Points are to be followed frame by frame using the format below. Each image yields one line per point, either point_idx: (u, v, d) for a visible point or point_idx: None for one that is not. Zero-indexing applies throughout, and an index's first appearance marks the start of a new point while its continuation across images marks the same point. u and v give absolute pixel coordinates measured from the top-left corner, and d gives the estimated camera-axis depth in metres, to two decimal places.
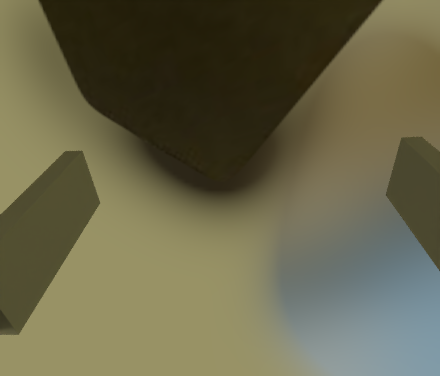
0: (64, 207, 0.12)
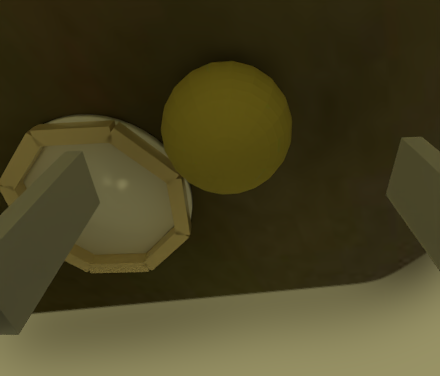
0: (64, 207, 0.12)
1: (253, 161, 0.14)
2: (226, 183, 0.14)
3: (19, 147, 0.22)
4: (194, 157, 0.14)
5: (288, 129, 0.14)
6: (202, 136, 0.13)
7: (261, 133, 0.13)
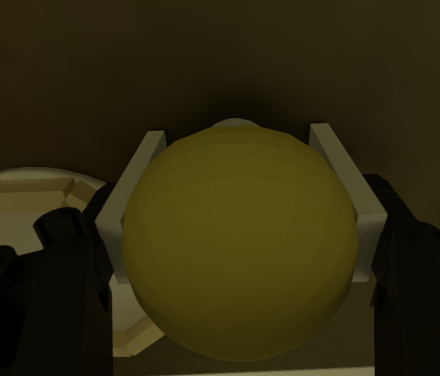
0: None
1: (294, 336, 0.07)
2: (239, 361, 0.08)
3: None
4: (177, 326, 0.07)
5: (356, 257, 0.08)
6: (192, 298, 0.06)
7: (313, 289, 0.06)
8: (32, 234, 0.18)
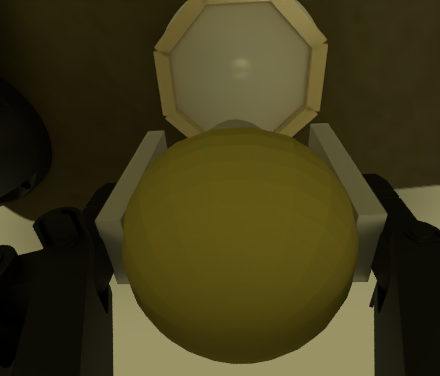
0: None
1: (294, 338, 0.07)
2: (239, 363, 0.08)
3: (185, 5, 0.24)
4: (177, 328, 0.07)
5: (356, 259, 0.08)
6: (192, 300, 0.06)
7: (313, 292, 0.06)
8: (228, 36, 0.26)
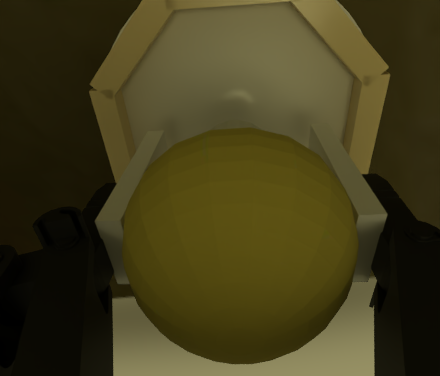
0: None
1: (294, 338, 0.07)
2: (239, 363, 0.08)
3: (137, 12, 0.13)
4: (177, 329, 0.07)
5: (356, 259, 0.08)
6: (193, 301, 0.06)
7: (313, 293, 0.06)
8: (216, 62, 0.16)
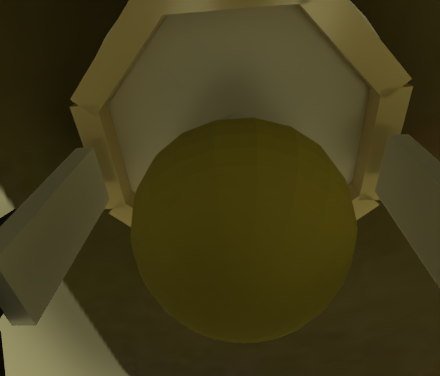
0: (77, 202, 0.12)
1: (294, 317, 0.07)
2: (242, 341, 0.08)
3: (388, 54, 0.12)
4: (183, 306, 0.07)
5: (354, 244, 0.08)
6: (199, 278, 0.07)
7: (312, 272, 0.07)
8: (309, 125, 0.15)
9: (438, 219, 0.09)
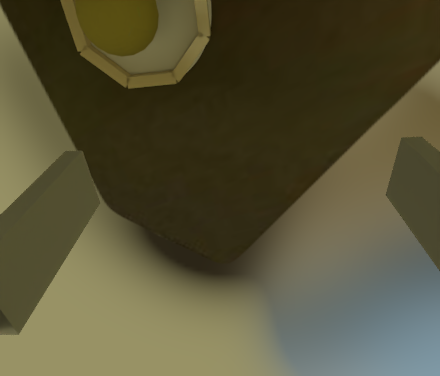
0: (64, 207, 0.12)
1: (121, 19, 0.24)
2: (110, 36, 0.25)
3: None
4: (88, 18, 0.24)
5: (146, 4, 0.25)
6: (90, 3, 0.23)
7: (123, 1, 0.23)
8: None
9: None
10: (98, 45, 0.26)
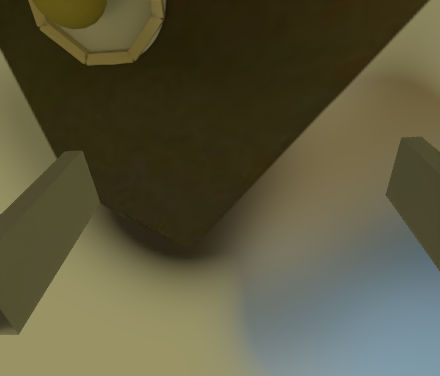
0: (64, 207, 0.12)
1: None
2: (56, 7, 0.26)
3: None
4: None
5: None
6: None
7: None
8: None
9: None
10: (47, 16, 0.28)
